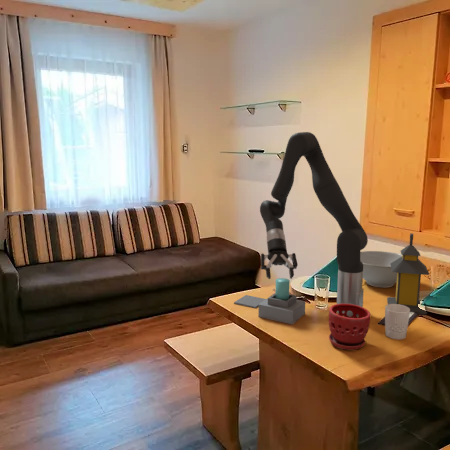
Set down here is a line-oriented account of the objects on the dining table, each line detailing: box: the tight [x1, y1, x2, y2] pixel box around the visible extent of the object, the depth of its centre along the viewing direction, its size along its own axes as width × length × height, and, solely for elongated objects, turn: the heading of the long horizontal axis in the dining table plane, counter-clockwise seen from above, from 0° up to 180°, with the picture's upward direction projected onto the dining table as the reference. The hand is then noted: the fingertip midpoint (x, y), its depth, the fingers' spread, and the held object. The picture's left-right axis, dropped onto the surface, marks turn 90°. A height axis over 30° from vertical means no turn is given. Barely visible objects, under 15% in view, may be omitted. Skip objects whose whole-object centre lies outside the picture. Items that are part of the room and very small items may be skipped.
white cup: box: [384, 303, 410, 340], centre depth 155 cm, size 8×8×10 cm
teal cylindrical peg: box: [275, 277, 291, 301], centre depth 172 cm, size 5×5×9 cm
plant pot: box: [328, 303, 371, 351], centre depth 148 cm, size 13×13×12 cm
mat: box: [233, 294, 267, 309], centre depth 188 cm, size 10×10×1 cm
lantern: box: [386, 233, 430, 316], centre depth 179 cm, size 14×14×30 cm
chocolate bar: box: [377, 312, 419, 327], centre depth 169 cm, size 9×1×18 cm
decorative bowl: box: [360, 250, 402, 289], centre depth 209 cm, size 27×27×12 cm
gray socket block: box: [258, 293, 306, 325], centre depth 173 cm, size 14×12×8 cm
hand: (280, 277), depth 175 cm, fingers open, 8 cm apart
